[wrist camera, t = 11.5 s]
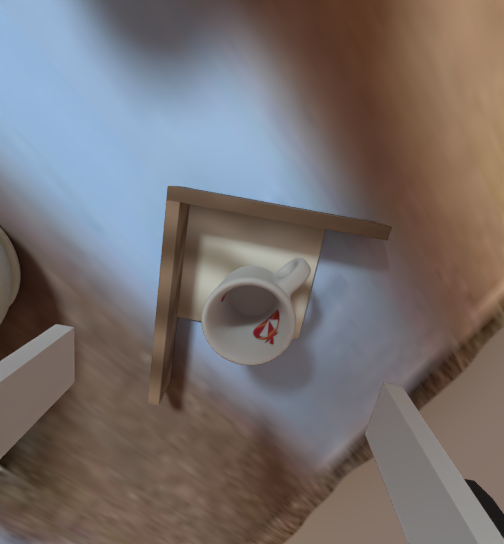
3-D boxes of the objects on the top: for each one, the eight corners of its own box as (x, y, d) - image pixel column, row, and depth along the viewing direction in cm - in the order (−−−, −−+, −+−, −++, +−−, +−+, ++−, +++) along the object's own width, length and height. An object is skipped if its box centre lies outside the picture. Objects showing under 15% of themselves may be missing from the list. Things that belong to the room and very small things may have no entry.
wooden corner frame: (180, 186, 30) (167, 185, 26) (375, 222, 30) (391, 226, 26) (160, 380, 36) (147, 403, 32) (320, 409, 36) (327, 435, 32)
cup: (276, 222, 30) (279, 234, 22) (325, 279, 31) (344, 308, 23) (201, 288, 32) (180, 320, 24) (250, 338, 33) (245, 383, 26)
